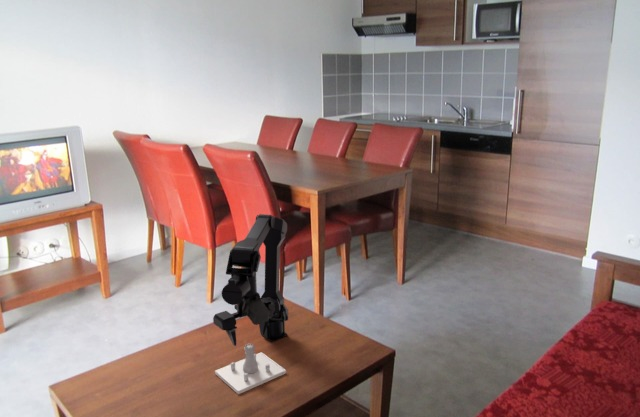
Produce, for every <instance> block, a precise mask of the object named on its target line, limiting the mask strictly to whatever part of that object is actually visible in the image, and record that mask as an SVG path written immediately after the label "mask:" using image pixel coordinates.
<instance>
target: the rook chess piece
mask: <svg viewBox="0 0 640 417" xmlns="http://www.w3.org/2000/svg"><path fill="white" fill-rule="evenodd" d="M255 350H256V347H255V345H254V344H253V343H249V342H248V343H246V344H244V348H243V351H245V352H244V355H245V358H244V359H245V362H244V364H243V371H244V372H245V373H248V374H253V373H255V372H256V371H257V370H258V365H257V363H256V361H255V358H254V354H256V352H255Z"/></svg>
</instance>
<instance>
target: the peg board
mask: <svg viewBox="0 0 640 417" xmlns="http://www.w3.org/2000/svg"><path fill="white" fill-rule="evenodd" d="M254 358H255V361H256V363H257V365H258V370H257V371H256V372H255V373H253V374H248V373H245V372H244V371H243V364H244V362H245V358H243V359H240V360H238V361H236V362H235V361H233V362H230V364H228V365H226V366H223V367H221V368H219V369H216V370H214V374H215V375H216V376H217V377H218V378H219V379H220V380H221V381H223V382H224V383H225V384H226V385H227V386H228V387H230V388H231V389H232V390H233V391H234V392H235V393H236V395H240V394H242V393H245V392H248V391H250V390H251V389H252V390H253V388H256V387H258V386H261V385H263V384H264V383H265V384H266V383H267V382H269V381H271V380H274V379H276V378H279V377H281V376H283V375H286V374H287V370H286V369H285V368H284V367H283V366H281V365H279V364H278V363H277V362H276V361H274V360H273V359H271V358H270V357H269V356H267V355H266V354H265V353H263V352H259V353H254Z"/></svg>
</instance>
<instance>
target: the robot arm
mask: <svg viewBox="0 0 640 417" xmlns="http://www.w3.org/2000/svg"><path fill="white" fill-rule="evenodd" d="M287 232H288V223H287V222H286V221H285V220H284V219H283V218H278V217H275V215H272V214H262V213H260V214H257V215H256V216H255V221H254V223H253V225H252V226H251V228H250V230H249V231H248V233H247V235H246V236H245V238H244V239H242V240H239V241H237V242H236V243H235V244H234V246H233V247H232V248H231V249H230V251H229V255H228V258H227V259H228V261H227V266H226V271H225V275H227V276H228V275H230V276H231V277H230V278H228V281H227V283H226V285H224V286H223V288H222V291H221V297H222V299H223V301H224V302H225V303H226V304H228V305H231V306H234V309H235V310H236V312H233V313H230V312H229V311H228V310H224V311H221V312H217V313H216V314H214V315H213V317H212V318H213V319H212V321H213V322H212V323H213V324H214V325H215V326H217V327H218V328H219V329H220V330H222V331H225V333H226V334H227V336H228V337H229V340H230V342H231V343H232V345H233V346H234V347H236V346H237V335H236V330H237V329H238V327H237V320H240V319H244V318H246V317H247V318H248V319H249V320H250V321H251V323H252V324H253V325H256V326H258V325H259V332H260V335H261V336H262V337H264V338H265V339H266V340H268V341H270V342H275V341H278V340H280V339H283V338H286V337H288V335H289V334H288V333H286V329H285V326H286V325H285V323H286V321H289V309H288V307H287V306H286V304H285V297H284V296H283V294H282V292H281V291H280V274H281V272H280V267H281V266H280V265H281V260H280V259H281V245H282V244H283V242H284V240H285V239H286V234H287ZM262 244H263V245H264V248H265V250H264V252H265V253H264V259H265V260H264V291H263V293H262V294H261V295H260V293H259V292H258V288H257V287H258V286H257V273H258V271H259V267H260V262H261V260H262V259H261V258H262V257H261V252H260V248H261V247H262Z"/></svg>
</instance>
